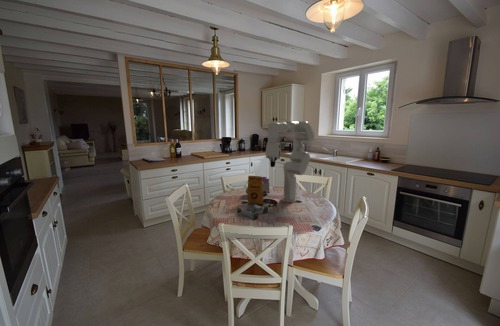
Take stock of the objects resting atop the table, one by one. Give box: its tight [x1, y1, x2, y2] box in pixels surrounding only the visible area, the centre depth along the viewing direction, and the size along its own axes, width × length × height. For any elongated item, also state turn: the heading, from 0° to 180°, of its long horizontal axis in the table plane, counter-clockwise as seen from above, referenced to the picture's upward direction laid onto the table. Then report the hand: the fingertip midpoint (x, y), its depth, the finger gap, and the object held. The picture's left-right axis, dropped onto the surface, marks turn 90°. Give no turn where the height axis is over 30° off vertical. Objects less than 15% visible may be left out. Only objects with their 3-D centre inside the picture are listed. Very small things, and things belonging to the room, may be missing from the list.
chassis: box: [236, 202, 269, 220], centre depth 156 cm, size 18×15×4 cm
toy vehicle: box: [245, 176, 270, 196], centre depth 192 cm, size 9×20×15 cm, turn 107°
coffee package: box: [247, 175, 264, 206], centre depth 173 cm, size 10×12×22 cm
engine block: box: [244, 204, 256, 214], centre depth 153 cm, size 6×4×5 cm
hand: (272, 166), depth 156 cm, fingers closed
